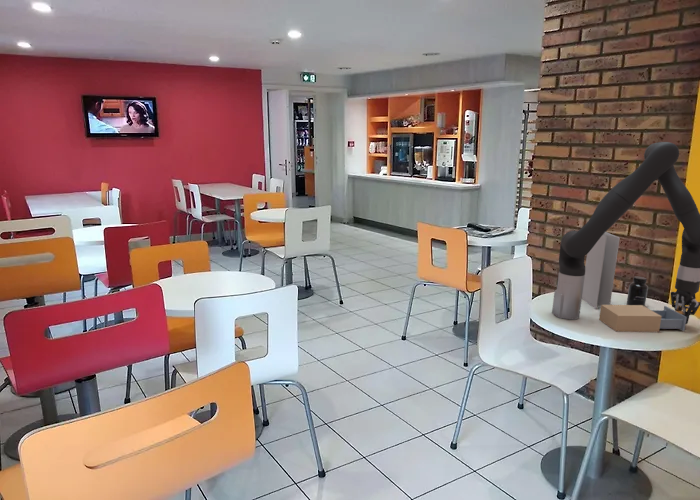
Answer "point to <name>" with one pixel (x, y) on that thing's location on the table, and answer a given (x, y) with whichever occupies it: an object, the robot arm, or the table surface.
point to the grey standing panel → (600, 271)
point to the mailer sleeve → (630, 318)
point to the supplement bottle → (637, 291)
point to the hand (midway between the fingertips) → (680, 322)
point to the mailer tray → (671, 319)
